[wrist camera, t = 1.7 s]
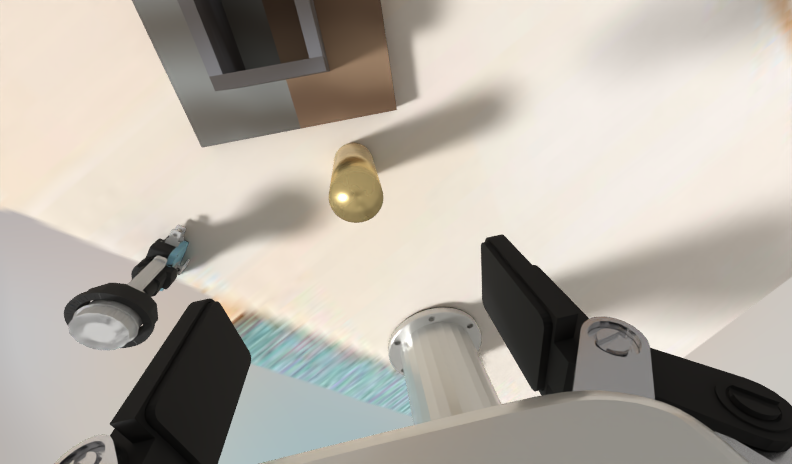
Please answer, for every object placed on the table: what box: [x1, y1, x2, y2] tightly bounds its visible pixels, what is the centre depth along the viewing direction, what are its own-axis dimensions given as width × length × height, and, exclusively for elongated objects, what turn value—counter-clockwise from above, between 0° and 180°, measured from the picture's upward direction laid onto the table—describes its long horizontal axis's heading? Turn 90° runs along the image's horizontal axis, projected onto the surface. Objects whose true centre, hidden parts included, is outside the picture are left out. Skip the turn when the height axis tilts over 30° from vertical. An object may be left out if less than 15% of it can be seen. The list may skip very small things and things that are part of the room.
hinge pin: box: [329, 143, 383, 223], centre depth 24 cm, size 4×4×9 cm
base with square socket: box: [132, 0, 397, 147], centre depth 19 cm, size 14×16×6 cm
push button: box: [64, 225, 190, 350], centre depth 25 cm, size 7×5×10 cm
